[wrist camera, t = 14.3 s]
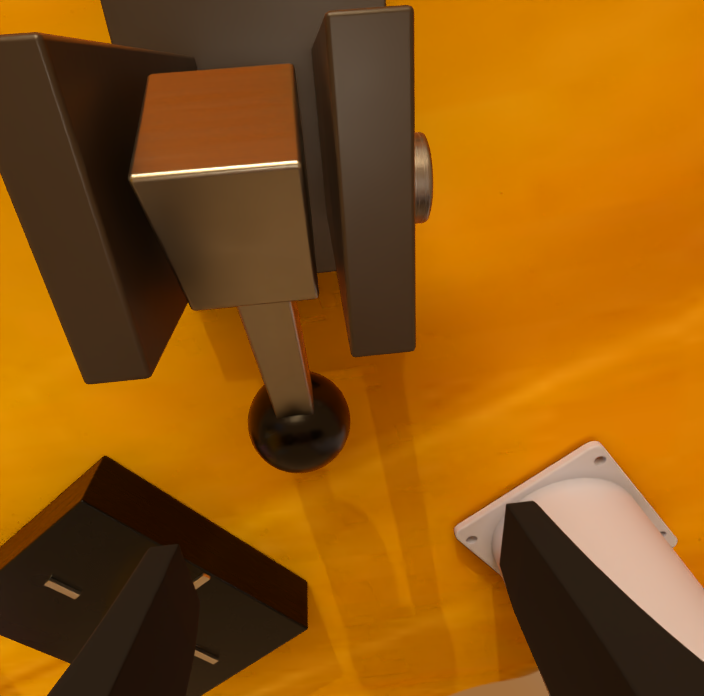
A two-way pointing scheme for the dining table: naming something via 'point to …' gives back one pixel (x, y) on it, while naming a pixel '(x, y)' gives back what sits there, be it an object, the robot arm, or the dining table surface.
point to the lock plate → (120, 562)
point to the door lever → (243, 235)
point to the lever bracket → (118, 142)
